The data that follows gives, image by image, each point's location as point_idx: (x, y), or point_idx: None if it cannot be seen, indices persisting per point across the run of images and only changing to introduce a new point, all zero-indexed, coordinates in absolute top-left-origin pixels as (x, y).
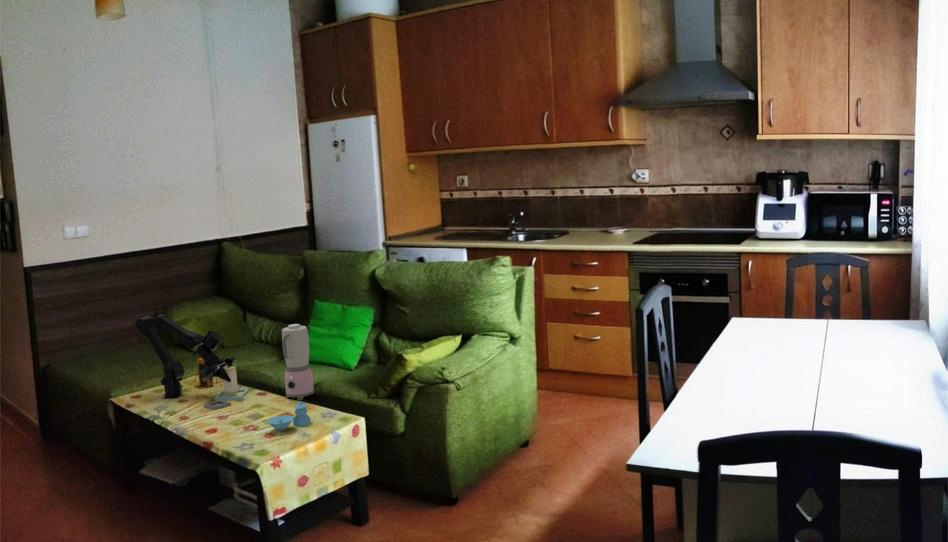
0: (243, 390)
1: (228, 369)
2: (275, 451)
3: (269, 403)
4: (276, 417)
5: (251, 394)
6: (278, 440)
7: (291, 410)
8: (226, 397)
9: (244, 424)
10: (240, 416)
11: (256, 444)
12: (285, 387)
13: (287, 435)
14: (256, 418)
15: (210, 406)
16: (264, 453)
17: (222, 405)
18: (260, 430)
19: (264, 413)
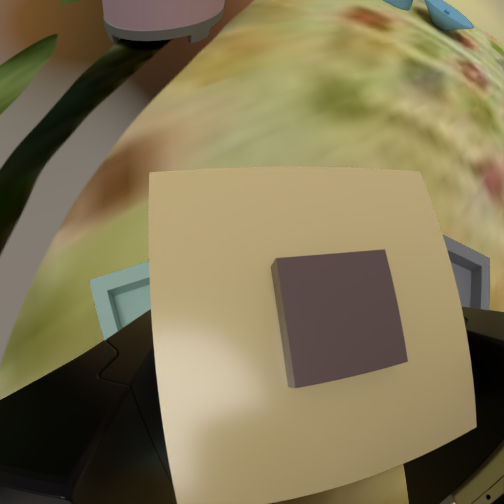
0: (114, 312)
1: (429, 243)
2: (484, 35)
3: (290, 69)
4: (446, 14)
5: (134, 241)
6: (464, 30)
7: (330, 11)
8: None
9: (475, 91)
10: (454, 120)
11: (495, 56)
12: (191, 4)
13: None
14: (434, 72)
15: (488, 295)
16: (496, 46)
17: (452, 242)
18: (466, 55)
19: (393, 60)
